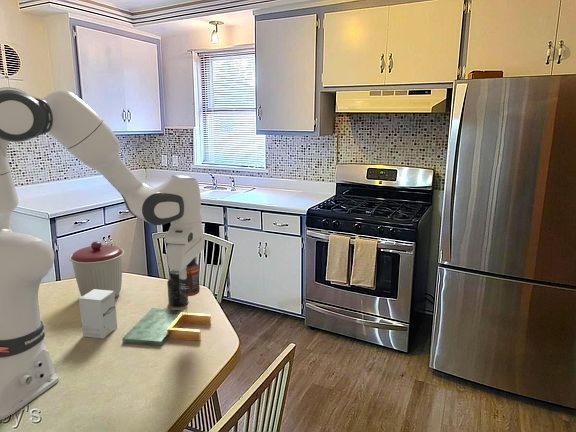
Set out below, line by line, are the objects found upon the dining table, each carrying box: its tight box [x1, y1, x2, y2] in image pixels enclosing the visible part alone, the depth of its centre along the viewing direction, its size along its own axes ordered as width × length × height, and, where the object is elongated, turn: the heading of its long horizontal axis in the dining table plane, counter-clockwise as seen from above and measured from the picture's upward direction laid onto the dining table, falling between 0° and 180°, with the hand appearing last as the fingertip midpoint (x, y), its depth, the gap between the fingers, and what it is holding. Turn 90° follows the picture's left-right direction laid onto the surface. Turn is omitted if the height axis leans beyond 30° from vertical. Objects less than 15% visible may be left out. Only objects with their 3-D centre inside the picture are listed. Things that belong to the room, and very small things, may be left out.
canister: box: [68, 240, 125, 298], centre depth 153 cm, size 18×18×21 cm
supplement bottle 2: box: [179, 258, 201, 297], centre depth 127 cm, size 6×6×11 cm
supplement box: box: [78, 289, 118, 340], centre depth 129 cm, size 7×7×13 cm
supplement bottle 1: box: [167, 270, 189, 308], centre depth 149 cm, size 7×7×12 cm
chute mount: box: [121, 307, 212, 347], centre depth 132 cm, size 20×22×3 cm
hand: (188, 273), depth 127 cm, fingers closed on supplement bottle 2, 6 cm apart
